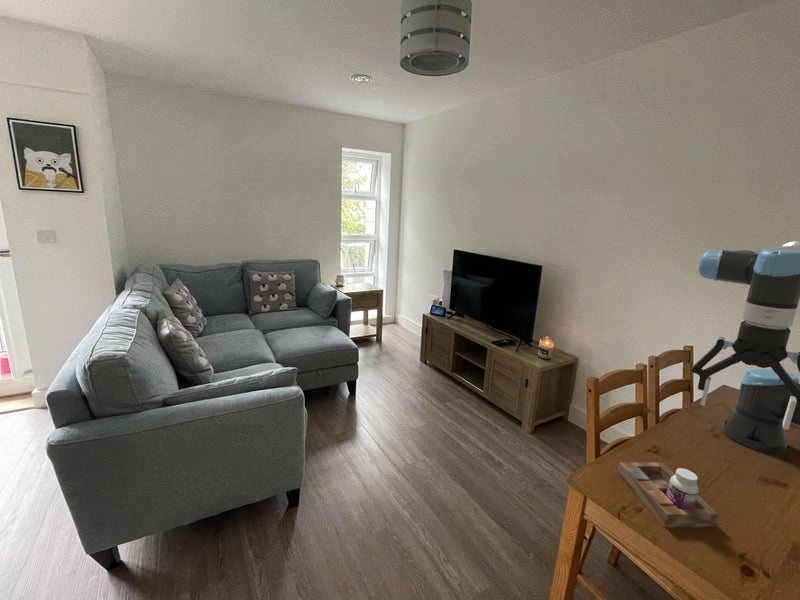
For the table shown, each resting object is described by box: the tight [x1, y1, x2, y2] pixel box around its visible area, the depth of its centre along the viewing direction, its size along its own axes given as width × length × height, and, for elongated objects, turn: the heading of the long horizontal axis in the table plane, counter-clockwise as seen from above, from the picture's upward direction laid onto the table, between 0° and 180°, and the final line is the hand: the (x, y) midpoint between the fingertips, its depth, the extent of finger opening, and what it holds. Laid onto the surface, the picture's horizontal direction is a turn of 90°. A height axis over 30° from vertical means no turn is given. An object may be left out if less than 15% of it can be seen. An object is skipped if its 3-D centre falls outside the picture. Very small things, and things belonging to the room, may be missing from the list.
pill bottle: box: [666, 467, 700, 509], centre depth 86 cm, size 5×5×10 cm
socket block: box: [616, 461, 719, 528], centre depth 91 cm, size 12×18×4 cm
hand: (741, 414), depth 81 cm, fingers open, 13 cm apart
